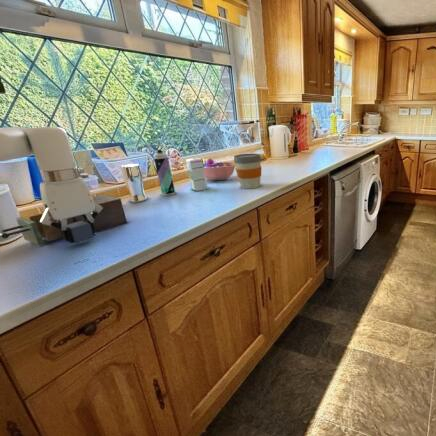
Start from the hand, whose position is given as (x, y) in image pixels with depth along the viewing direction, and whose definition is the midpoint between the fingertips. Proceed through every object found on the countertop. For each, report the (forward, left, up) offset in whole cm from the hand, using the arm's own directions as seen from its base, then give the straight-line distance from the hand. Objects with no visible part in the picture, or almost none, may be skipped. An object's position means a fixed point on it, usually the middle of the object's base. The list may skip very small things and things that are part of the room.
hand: (80, 237), depth 86 cm
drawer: (-4, +13, -1) cm, 13 cm away
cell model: (+76, +30, -2) cm, 82 cm away
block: (0, 0, 0) cm, 0 cm away
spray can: (+46, +29, -2) cm, 55 cm away
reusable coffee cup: (+72, +3, -2) cm, 72 cm away
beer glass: (+34, +32, -2) cm, 47 cm away
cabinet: (+9, +13, -2) cm, 16 cm away
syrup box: (+58, +23, -2) cm, 63 cm away
